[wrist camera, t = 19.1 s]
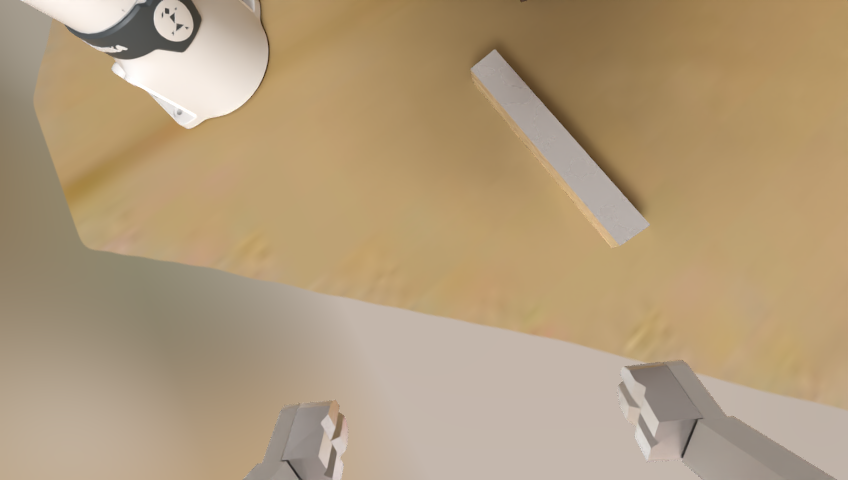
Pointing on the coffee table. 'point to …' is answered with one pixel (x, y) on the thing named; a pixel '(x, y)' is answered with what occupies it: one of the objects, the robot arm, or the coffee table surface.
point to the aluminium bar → (558, 151)
